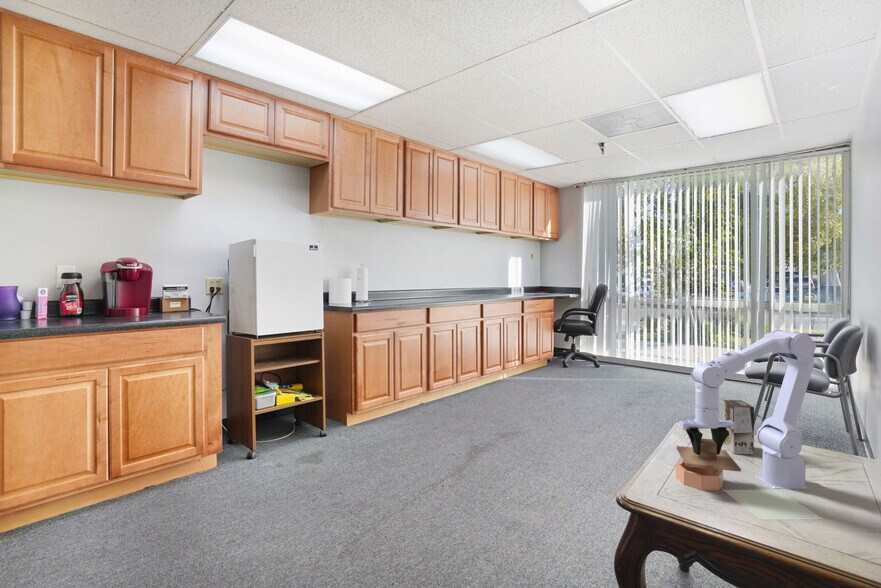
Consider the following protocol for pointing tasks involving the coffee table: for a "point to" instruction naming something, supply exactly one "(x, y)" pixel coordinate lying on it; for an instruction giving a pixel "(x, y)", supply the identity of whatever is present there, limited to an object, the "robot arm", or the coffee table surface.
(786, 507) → the mat
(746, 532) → the coffee table surface
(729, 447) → the coffee box
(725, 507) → the coffee table surface
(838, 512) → the coffee table surface
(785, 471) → the robot arm
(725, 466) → the lid
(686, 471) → the bowl
